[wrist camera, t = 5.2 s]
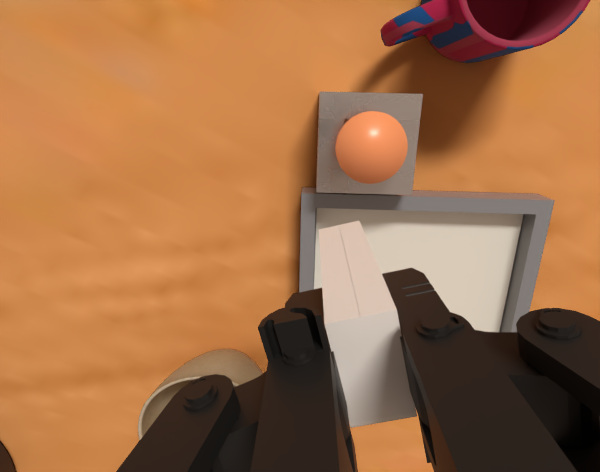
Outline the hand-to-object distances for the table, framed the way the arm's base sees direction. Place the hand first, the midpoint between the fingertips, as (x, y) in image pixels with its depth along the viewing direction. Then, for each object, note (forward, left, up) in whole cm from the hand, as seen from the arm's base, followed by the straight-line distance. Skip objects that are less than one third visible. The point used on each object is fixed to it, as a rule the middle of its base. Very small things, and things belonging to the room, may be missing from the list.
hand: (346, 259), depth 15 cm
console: (+2, +3, -15) cm, 16 cm away
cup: (+7, +11, -15) cm, 20 cm away
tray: (+6, -9, -15) cm, 19 cm away
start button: (+2, +3, -13) cm, 13 cm away
